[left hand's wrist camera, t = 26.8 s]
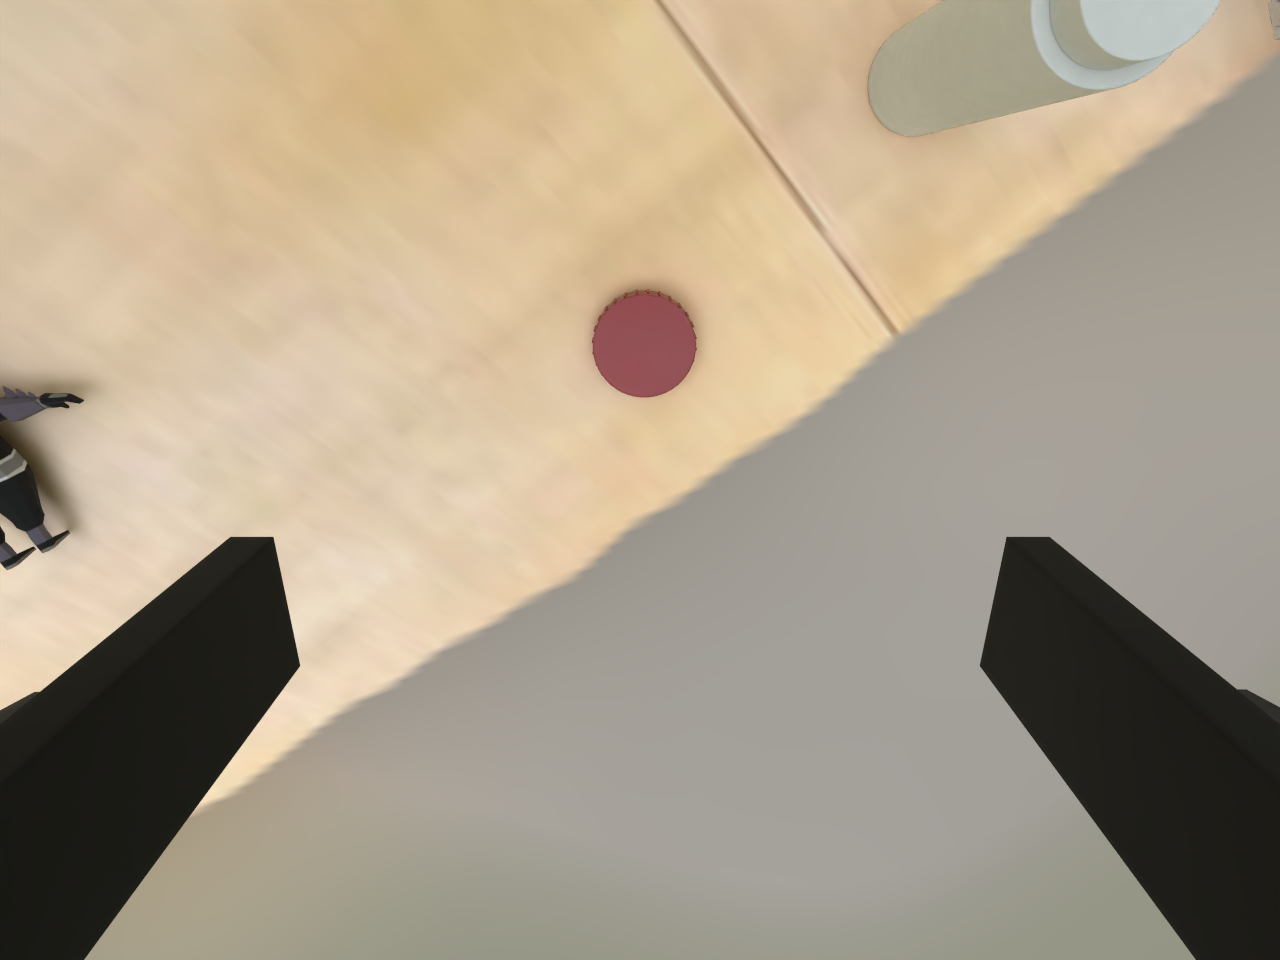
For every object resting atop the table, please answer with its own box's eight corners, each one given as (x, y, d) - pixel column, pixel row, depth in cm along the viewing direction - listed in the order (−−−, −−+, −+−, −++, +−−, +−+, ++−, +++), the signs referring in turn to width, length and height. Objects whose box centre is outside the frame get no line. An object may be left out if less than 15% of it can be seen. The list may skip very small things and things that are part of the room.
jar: (981, 25, 33) (1285, -134, 18) (956, 140, 35) (1214, 88, 19) (878, 17, 33) (1092, -151, 17) (859, 132, 35) (1038, 74, 19)
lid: (572, 336, 38) (569, 341, 37) (649, 267, 37) (650, 270, 36) (639, 410, 40) (639, 418, 38) (715, 346, 39) (718, 352, 37)
